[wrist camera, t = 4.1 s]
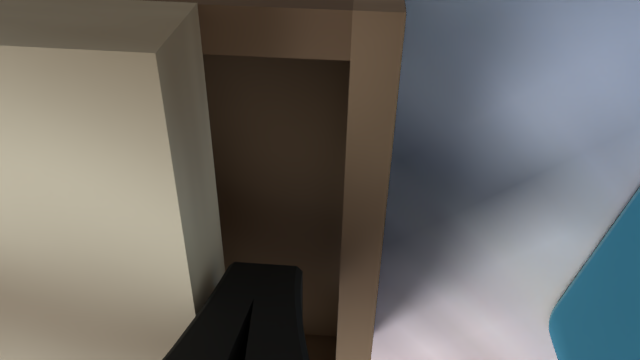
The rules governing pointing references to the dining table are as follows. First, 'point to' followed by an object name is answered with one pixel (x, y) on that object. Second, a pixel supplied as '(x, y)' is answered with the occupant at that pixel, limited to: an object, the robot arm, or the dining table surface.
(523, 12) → the dining table surface
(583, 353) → the data package
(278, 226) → the walnut box
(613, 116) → the dining table surface
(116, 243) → the cover plate
